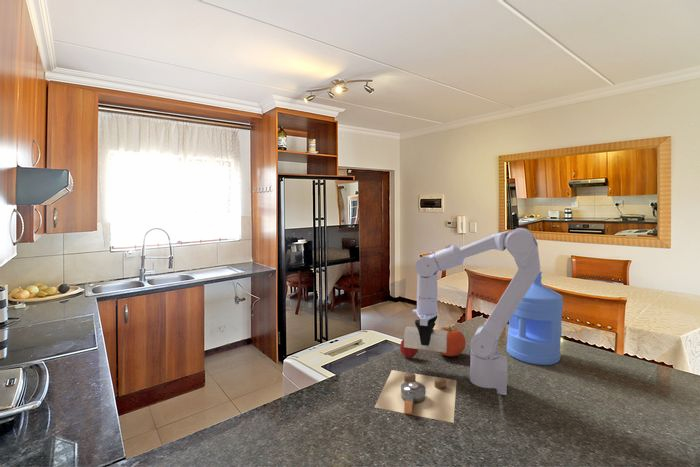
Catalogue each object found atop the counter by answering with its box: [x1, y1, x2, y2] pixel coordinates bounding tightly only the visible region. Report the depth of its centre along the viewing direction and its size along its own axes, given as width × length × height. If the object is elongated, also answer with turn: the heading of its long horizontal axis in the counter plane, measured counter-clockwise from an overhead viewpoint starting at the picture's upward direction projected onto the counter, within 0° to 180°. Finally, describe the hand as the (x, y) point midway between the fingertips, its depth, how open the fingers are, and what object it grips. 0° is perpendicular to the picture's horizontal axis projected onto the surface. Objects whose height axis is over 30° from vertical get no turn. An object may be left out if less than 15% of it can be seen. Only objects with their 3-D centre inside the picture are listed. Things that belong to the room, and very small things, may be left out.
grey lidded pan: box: [401, 381, 426, 416], centre depth 85 cm, size 11×6×3 cm, turn 161°
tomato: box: [438, 325, 467, 357], centre depth 114 cm, size 10×10×10 cm
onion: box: [399, 338, 419, 359], centre depth 111 cm, size 6×6×8 cm
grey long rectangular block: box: [403, 326, 447, 353], centre depth 102 cm, size 12×4×5 cm, turn 71°
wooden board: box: [374, 369, 457, 424], centre depth 89 cm, size 18×20×3 cm
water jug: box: [506, 270, 564, 366], centre depth 114 cm, size 16×16×28 cm
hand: (426, 342), depth 102 cm, fingers closed on grey long rectangular block, 4 cm apart
